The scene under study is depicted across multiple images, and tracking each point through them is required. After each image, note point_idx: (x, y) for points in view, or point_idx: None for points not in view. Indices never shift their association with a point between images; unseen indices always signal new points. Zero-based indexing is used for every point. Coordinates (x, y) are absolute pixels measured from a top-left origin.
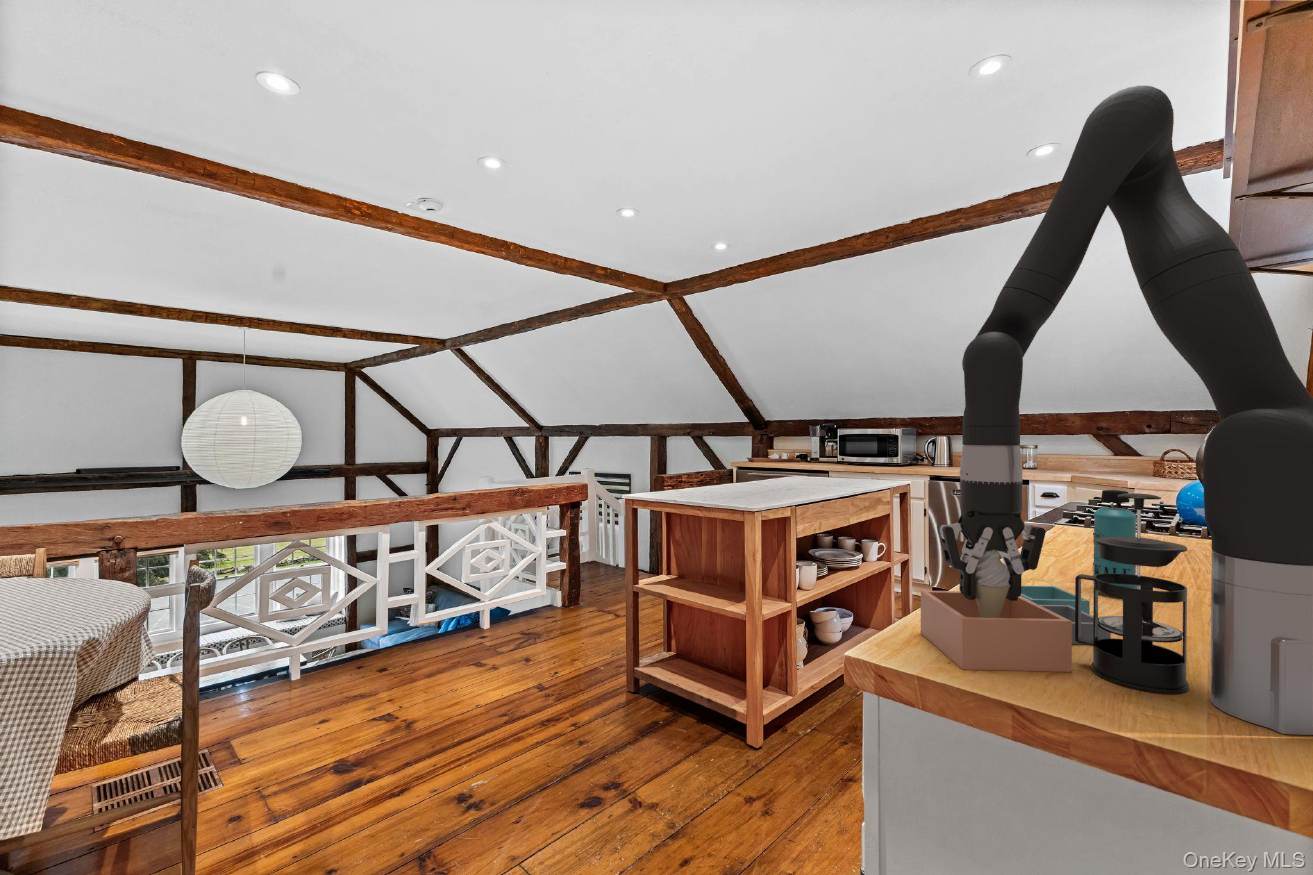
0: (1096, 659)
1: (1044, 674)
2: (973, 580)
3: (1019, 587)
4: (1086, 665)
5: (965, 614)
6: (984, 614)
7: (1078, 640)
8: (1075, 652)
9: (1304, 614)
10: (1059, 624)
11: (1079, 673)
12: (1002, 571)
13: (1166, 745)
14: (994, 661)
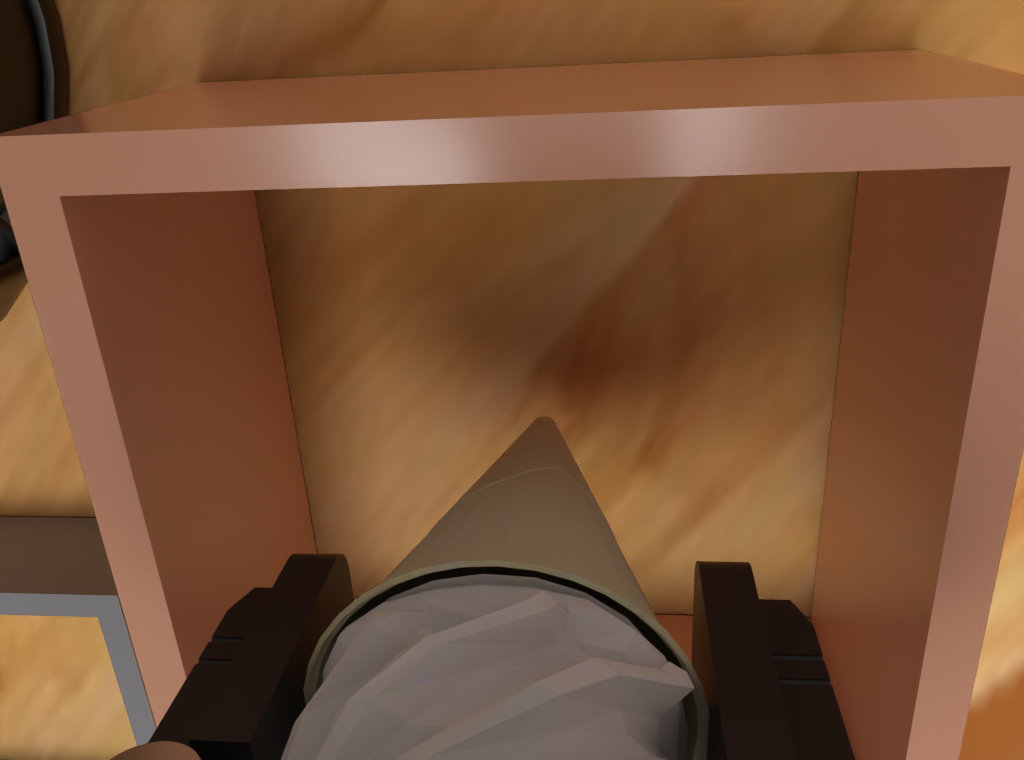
0: (3, 84)
1: (384, 22)
2: (748, 697)
3: (224, 646)
4: None
5: None
6: (592, 499)
7: None
8: (57, 403)
9: None
10: (114, 127)
11: (158, 67)
12: (383, 756)
13: None
14: (695, 64)
